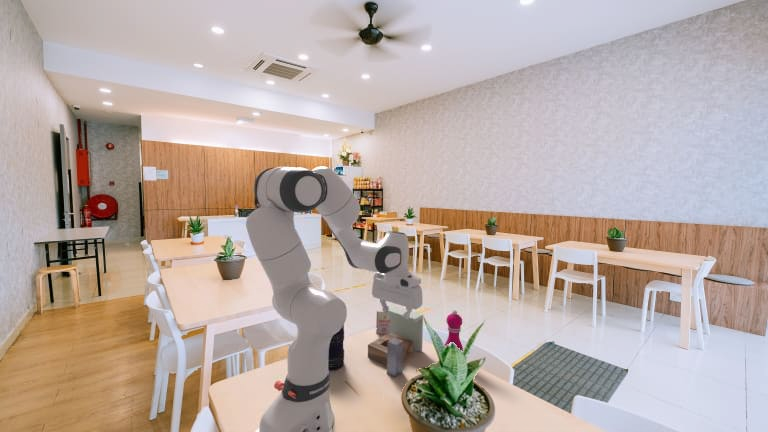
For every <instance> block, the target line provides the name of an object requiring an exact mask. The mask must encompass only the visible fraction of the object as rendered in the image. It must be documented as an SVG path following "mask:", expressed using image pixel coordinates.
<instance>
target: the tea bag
mask: <svg viewBox="0 0 768 432" xmlns="http://www.w3.org/2000/svg"><path fill="white" fill-rule="evenodd" d="M375 324H376V328H377V329H376V328H375V329H376V331H375V333H376V335H387V334H388V333H390V327H391V315H390V314H387V313H384V311H383V310H381V311H380V310H379V311H377V310H376V323H375Z"/></svg>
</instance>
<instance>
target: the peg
mask: <svg viewBox="0 0 768 432" xmlns="http://www.w3.org/2000/svg"><path fill="white" fill-rule="evenodd" d="M403 363H404V360H403V341H402V340H399V339H397V338H393V339H391V340H389V341H388V342H387V365H386V374H387V375H389V376H392V377H393V378H395V379H396V378H397V377H400V375H402V374H403V369H404V368H403V367H404V366H403Z"/></svg>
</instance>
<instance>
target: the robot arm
mask: <svg viewBox="0 0 768 432" xmlns="http://www.w3.org/2000/svg"><path fill="white" fill-rule="evenodd" d="M253 192H254V201H253V202H254V205H255V207H256V209H254V210H253V211H252V212H251V213H250V214H249V215H248V216H247V218H246V221H245V225H246V226H245V227H246V231H247V235H248V236H249V237H248V238H249V240H250V243H251V246H252V248H253V251H254V252H255V255H256V257H257V258H258V261H259V263H260V265H261V267H262V268H263V271H264V273H265V275H266V277H267V278H268V281H269V282H270V285H271V289H272V292H273V295H272V299H271V301H272V302H271V303H272V307H273V308H274V310H275V312H276V313H277V314H279V316H281V318H283V320H286V321H288V322H290V323H292V324H294V325H295V326H296V328H297V336H296V340H294V341H293V342H291V343H290V345H289V347H288V348H287V353H286V354H287V374H286V377H285V379H284V381H283V382H284V383H283V382H282V381H281V380H276V381H275V382H274V384H273V387H274V388H275V389H276V390H277V391H279V392H280V391H281V392H280V393H279V395H278V396H277V397H276V398H275V399H274V401H273V402H272V403H271V404H270V405H269V407H267V409H266V410H265V411H264V413H263V414H262V415H261V418H260V422H259V427H258V428H257V429H256V430H255V431H254V432H333V425H334V423H335V416H334V413H333V409H332V404H331V398H330V385H331V376H330V375H331V374H330V372H331V371H329V369H328V356H329V345H330V341H331V338H332V336H333V335H334V334H336V333H337V332H338V331H339V330H340V329H341V328H342V327H343V325H344V326H345V323H346V320H347V316H348V315H347V314H348V309H347V306H346V303H345V302H344V301H343V300H342V299H341V298H339V297H338V296H337V295H335V294H334V293H333V292H331V291H327V290H325V289H322V288H319V287H316V286H315V285H314V284H313V283H312V282H311V280H310V277H309V272H310V271H311V267H312V263H311V260H310V258H309V255H308V252H307V251H306V249H305V246H304V244H303V242H302V239H301V237H300V236H299V235H300V234H299V233H298V231H297V229H296V227H295V223H294V222H295V221H294V216H295V213H298V214H299V213H300V214H301V213H307V212H310V211H311V212H312V210H316V211H317V212H318V213H319V215H320V216H321V217H322V218H323V220H324V221H325V222H326V225H327V227H328V228H329V230H330V232H331V234H332V235H333V236H334V238H335V239H336V240H337V242H338V243H339V245H340V247H341V248H342V249H343V252H344V254H345V257H346V260H347V263H348V264H349V265H350V266H351V267H352V268H354V269H360V270H365V271H369V272H373V273H375V274H374V275H373V281H372V286H371V287H372V289H371V295H372V297H373V298H375V299H379V303H380V305H381V307H382V312H388V310H389V309H388V308H389V306H388V305H387V303H386V302H388V303H392V304H394V305H399V306H401V307H405V309H406V310H407V312H405V313H404V314H403V315H404V316H403V317H404V318H405V319H409V318H410V312H411V311H413V310H417V309H419V308H421V307H422V306H423V289H422V287H421V283H422V278H421V277H419V276H417V275H416V274H414V273H412V272H411V271H410V270H409V269H410V268H409V257H410V245H409V239H408V235H407V234H406V233H405V232H402V231H401V232H400V231H393V230H388V231H386V232H385V236H384V237H383V238H381V240H380V241H377V242H374V241H367V240H364V239H361V238H360V237H359V236H357V234H356V232H355V231H354V229H353V227H352V226H354V224H355V223H356V221H357V220H358V218H359V216H360V213H361V205H360V203H359V200H358V198H357V197H356V195H355V194H354V192H353V191H352V190H351V188H350V187H349V186H348V185H347V183H346V182H345V180H343V179H342V178H341V177H340V175H338V174H337V173H336V172H335V171H334V170H333V169H332V168H330V167H328V166H317V167H315V168H313V169H309V168H305V167H293V166H277V167H270V168H266V169H264V170H263V171H261V172H260V173H259V174H258V175H257V176H256V178H255V181H254V185H253Z"/></svg>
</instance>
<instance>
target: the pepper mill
mask: <svg viewBox="0 0 768 432" xmlns="http://www.w3.org/2000/svg"><path fill="white" fill-rule="evenodd" d="M446 324H447V331H448V337H447V339H446V341H445V343H444V346H446V345H447V344H449V343H450V342H454V343H455V344H456V345H457V347H458V348H460V350H462V351H463V352H464V348H463V344H462V342H461V339H460V332H461V329H462V324H463V318H462V316H461V315H460V314H458V311H457V310H455V309H454V310H452V311H451V313H450V314H448V315H447V317H446Z"/></svg>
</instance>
